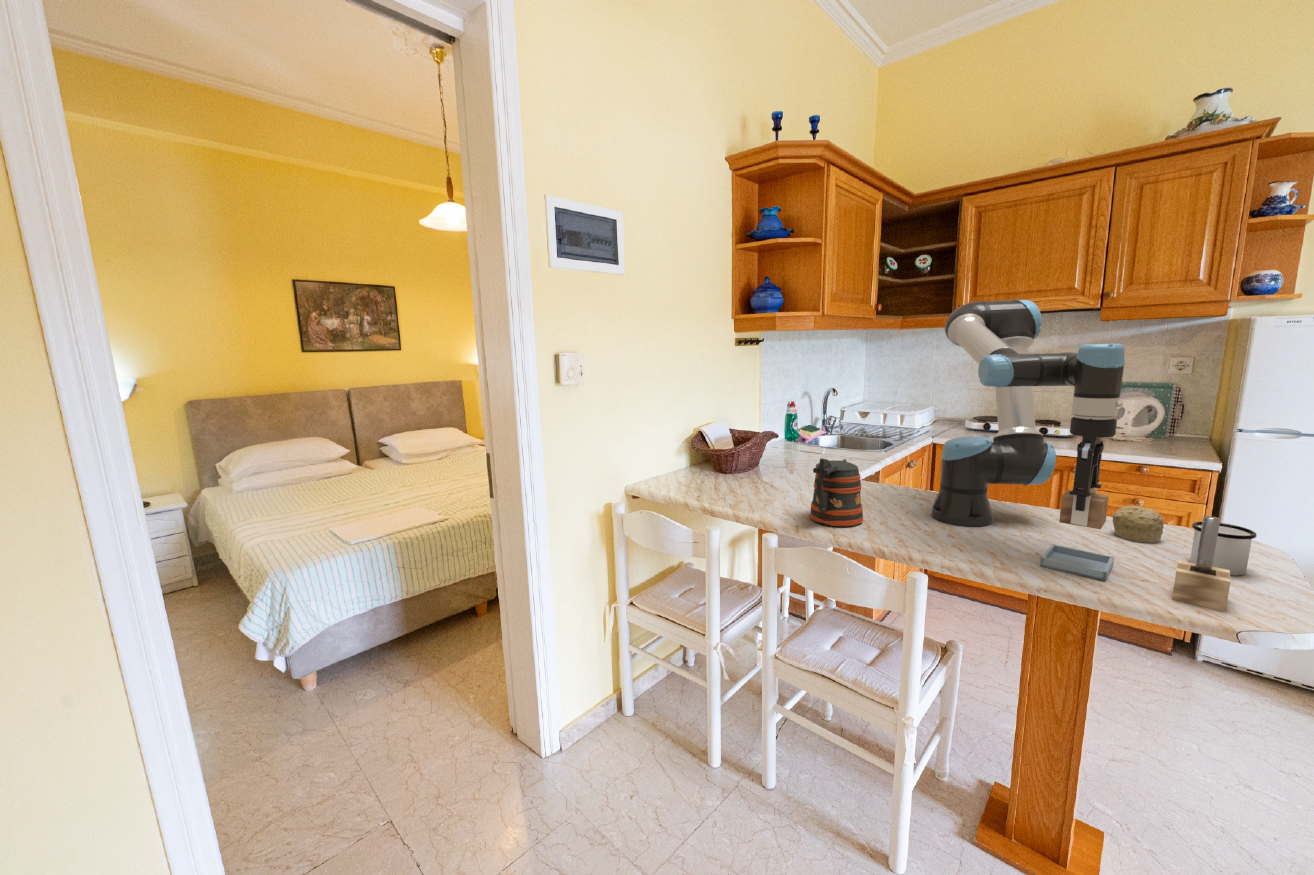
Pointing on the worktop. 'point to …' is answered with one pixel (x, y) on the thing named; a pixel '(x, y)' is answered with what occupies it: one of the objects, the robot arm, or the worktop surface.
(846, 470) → the beer stein
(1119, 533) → the coral
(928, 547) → the worktop surface
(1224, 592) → the oak block
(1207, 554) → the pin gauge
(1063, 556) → the tray
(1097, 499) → the walnut block
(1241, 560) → the mug
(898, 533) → the worktop surface
